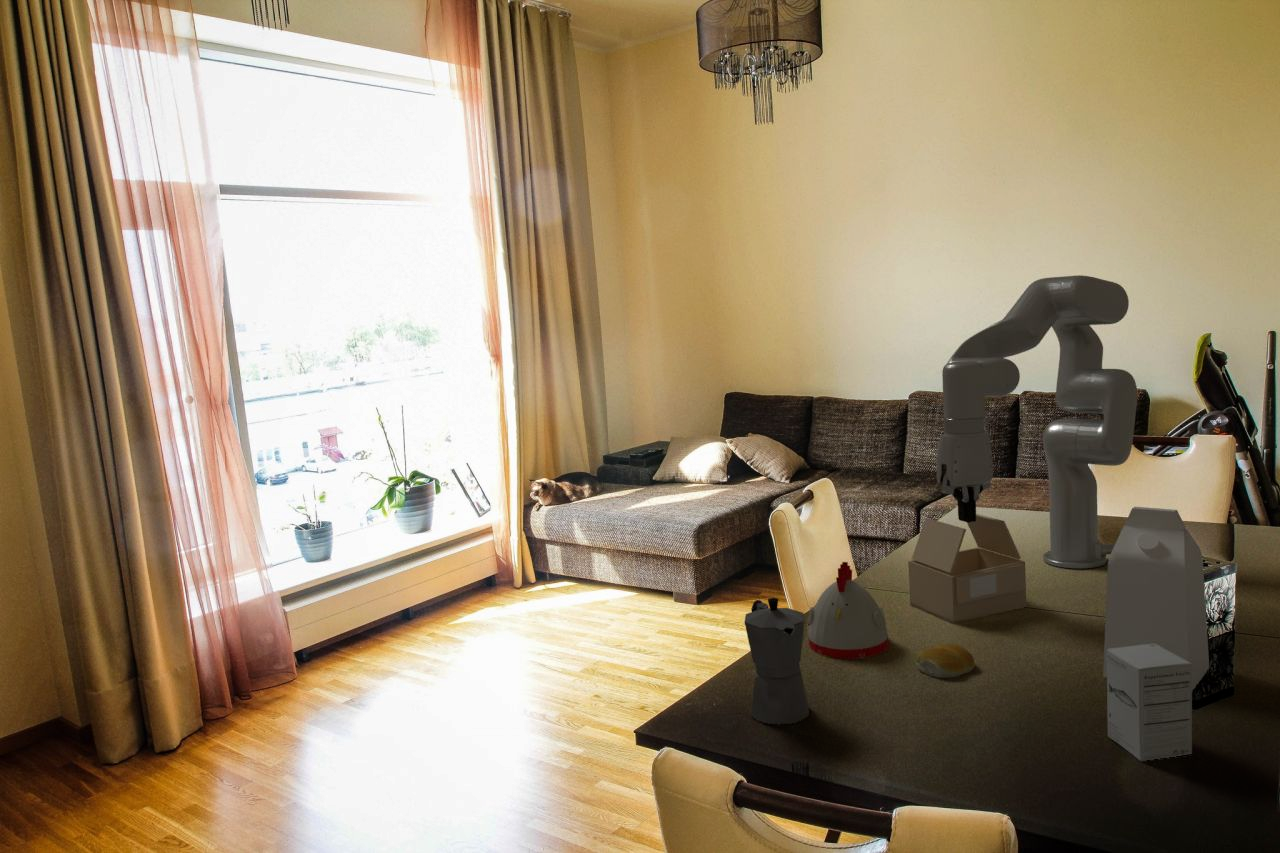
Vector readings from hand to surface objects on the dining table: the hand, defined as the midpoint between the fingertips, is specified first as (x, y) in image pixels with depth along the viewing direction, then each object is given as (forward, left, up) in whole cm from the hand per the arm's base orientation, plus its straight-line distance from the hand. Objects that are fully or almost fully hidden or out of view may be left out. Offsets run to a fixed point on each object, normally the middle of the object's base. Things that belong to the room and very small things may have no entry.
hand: (967, 520), depth 180 cm
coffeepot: (+28, +52, -17) cm, 62 cm away
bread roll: (+4, +32, -18) cm, 37 cm away
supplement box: (-22, +55, -17) cm, 62 cm away
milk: (-27, +29, -17) cm, 44 cm away
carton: (+1, 0, -17) cm, 17 cm away
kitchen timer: (+21, +23, -17) cm, 36 cm away
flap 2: (-6, -5, -8) cm, 11 cm away
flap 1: (+7, +6, -8) cm, 12 cm away
